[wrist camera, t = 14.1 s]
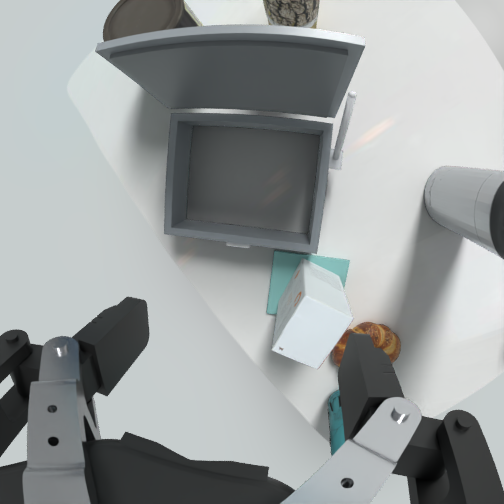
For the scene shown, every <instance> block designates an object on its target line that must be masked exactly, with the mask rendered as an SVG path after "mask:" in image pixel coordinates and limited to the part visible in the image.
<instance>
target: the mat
mask: <svg viewBox="0 0 504 504" xmlns="http://www.w3.org/2000/svg"><path fill="white" fill-rule="evenodd" d="M302 258H304V259H306V260H308V261H310V262H312V263H314V264H316V265H318V266H320V267H322V268H324V269H326V270H328V271H330V272H332V273H334V274H336V275H338V276H339V277H340V280H341V283H342V285H343V288H344V286H345V282H346V277H347V272H348V267H349V262H350V261H349V260H344V259H337V258H329V257H322V256H314V255H307V254H299V253H292V252H284V251H276V250H275V251H274V258H273V266H272V274H271V282H270V290H269V298H268V306H267V313H270V314H277V309H278V302H279V300H280V298H281V296H282V294H283V292H284V290H285V289H286V287H287V285H288V283H289V281H290V279H291V278H292V276H293V274H294V272H295V270H296V268H297V267H298V265H299V263H300V261H301V259H302Z"/></svg>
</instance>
